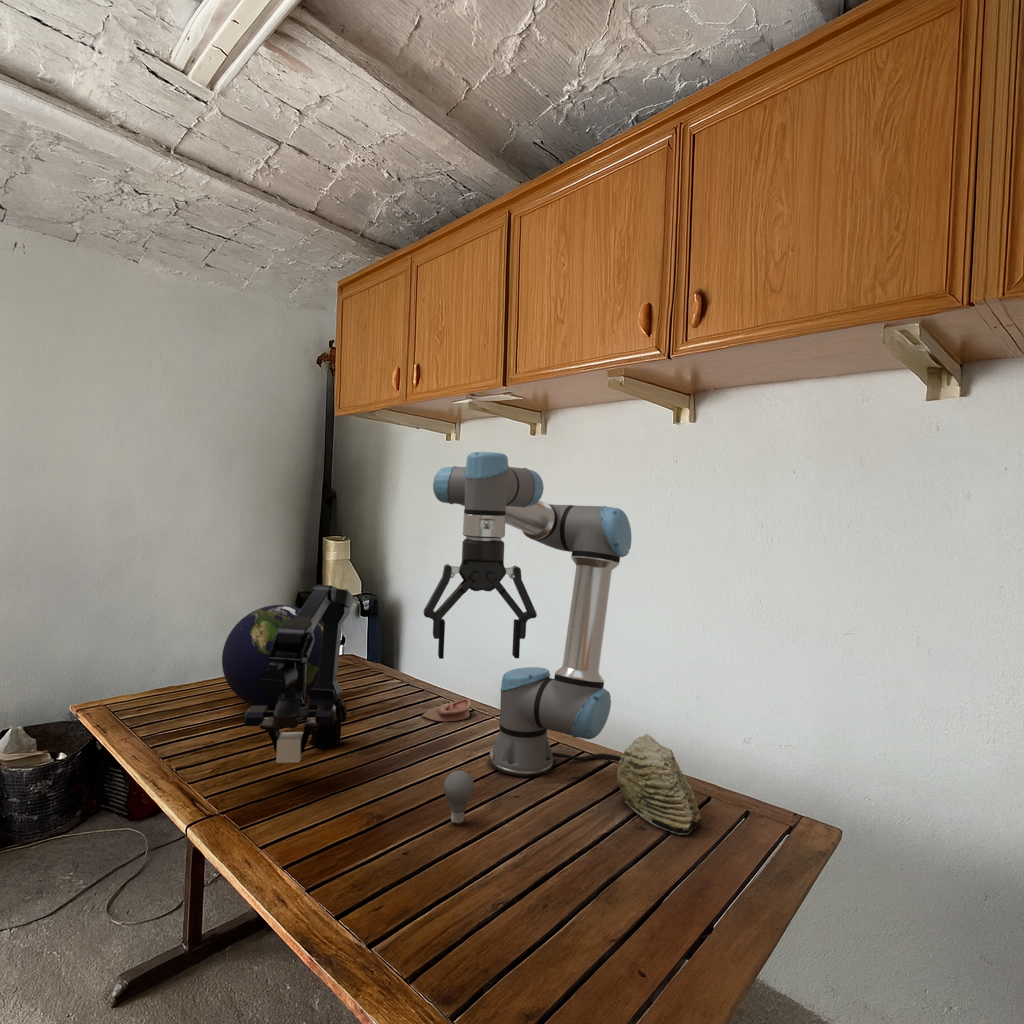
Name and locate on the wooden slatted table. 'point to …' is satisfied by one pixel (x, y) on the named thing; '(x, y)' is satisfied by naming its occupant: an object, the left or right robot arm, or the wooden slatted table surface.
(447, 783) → the light bulb
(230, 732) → the wooden slatted table surface
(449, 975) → the wooden slatted table surface
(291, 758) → the block
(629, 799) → the fossil
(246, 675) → the globe
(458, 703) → the anatomical model
